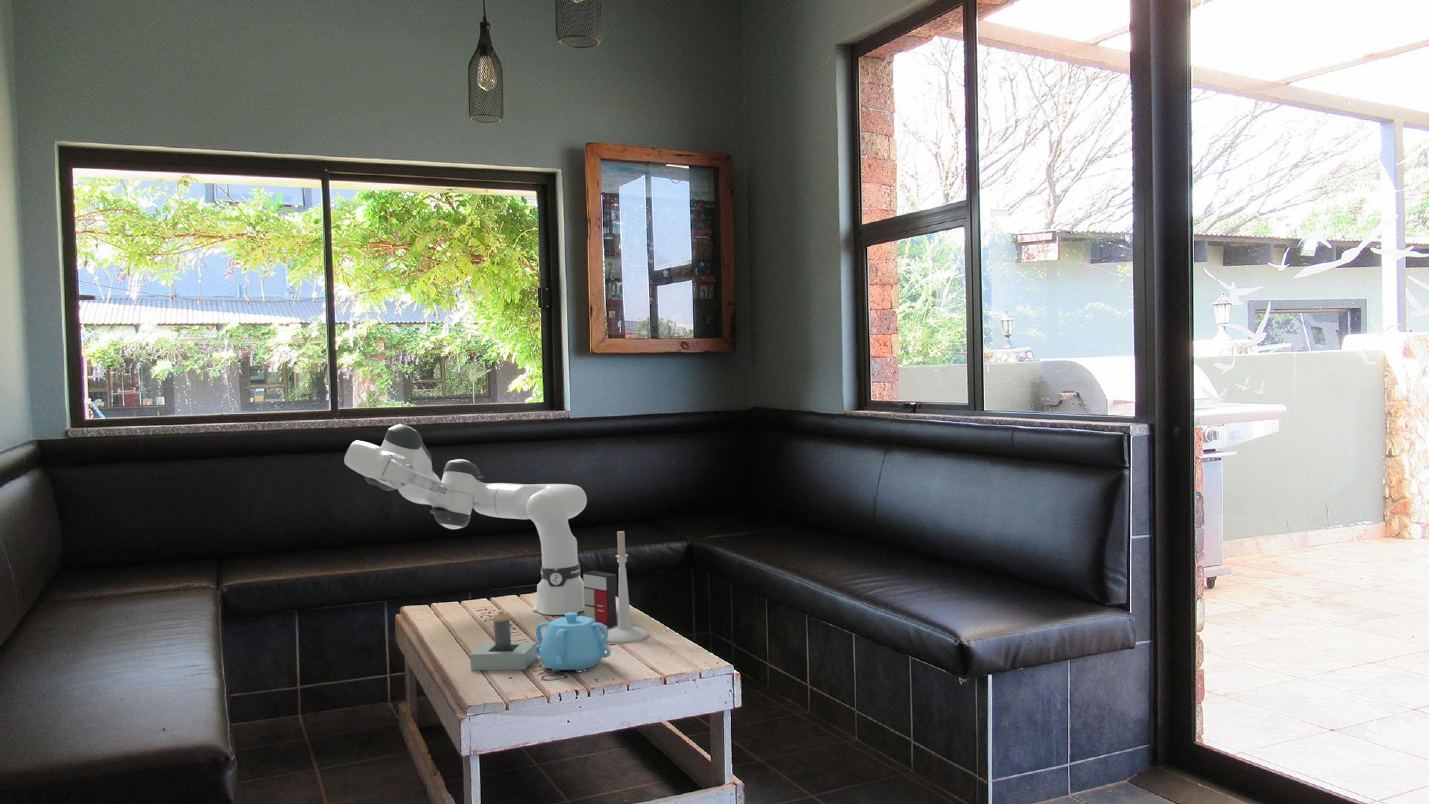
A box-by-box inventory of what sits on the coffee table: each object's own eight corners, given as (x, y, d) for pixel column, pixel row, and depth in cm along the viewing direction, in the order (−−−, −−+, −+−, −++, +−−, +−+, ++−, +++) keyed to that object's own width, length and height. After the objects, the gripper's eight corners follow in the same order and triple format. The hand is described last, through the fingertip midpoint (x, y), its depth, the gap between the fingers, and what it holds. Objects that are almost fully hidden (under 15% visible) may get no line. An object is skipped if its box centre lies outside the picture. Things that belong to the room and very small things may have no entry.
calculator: (583, 623, 296) (580, 572, 295) (594, 620, 299) (592, 570, 298) (607, 628, 288) (605, 576, 288) (618, 625, 291) (616, 574, 291)
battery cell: (499, 658, 258) (495, 609, 258) (514, 657, 258) (510, 608, 258) (493, 662, 254) (490, 612, 254) (509, 662, 254) (505, 612, 254)
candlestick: (647, 642, 272) (643, 532, 271) (600, 644, 271) (596, 534, 270) (648, 630, 284) (644, 525, 283) (603, 632, 284) (598, 527, 283)
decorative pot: (594, 654, 262) (592, 602, 262) (614, 669, 247) (612, 614, 247) (533, 664, 255) (531, 611, 255) (550, 680, 240) (548, 624, 240)
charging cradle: (484, 657, 262) (484, 642, 262) (537, 657, 261) (536, 641, 261) (470, 670, 251) (470, 654, 251) (525, 669, 250) (524, 653, 250)
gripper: (411, 489, 278) (452, 506, 273) (371, 474, 258) (415, 493, 254) (421, 468, 279) (462, 485, 275) (382, 452, 260) (425, 470, 255)
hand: (439, 488), depth 264 cm, fingers open, 8 cm apart
